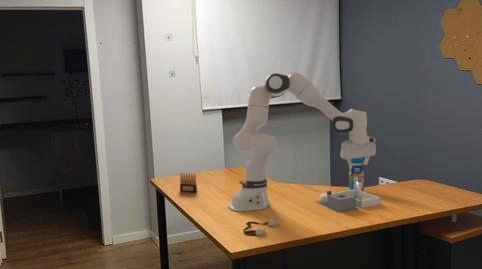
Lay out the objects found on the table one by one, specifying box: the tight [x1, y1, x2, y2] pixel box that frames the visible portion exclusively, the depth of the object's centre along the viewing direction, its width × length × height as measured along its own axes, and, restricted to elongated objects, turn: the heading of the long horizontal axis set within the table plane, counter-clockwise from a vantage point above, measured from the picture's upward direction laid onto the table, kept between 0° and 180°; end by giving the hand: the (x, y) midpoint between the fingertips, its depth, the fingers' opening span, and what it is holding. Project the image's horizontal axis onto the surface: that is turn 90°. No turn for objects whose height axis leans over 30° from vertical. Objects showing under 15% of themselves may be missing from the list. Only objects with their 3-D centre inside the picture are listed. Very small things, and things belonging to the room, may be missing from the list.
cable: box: [242, 218, 280, 237], centre depth 214 cm, size 16×16×4 cm
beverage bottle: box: [348, 157, 365, 192], centre depth 270 cm, size 8×8×20 cm
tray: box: [336, 189, 382, 209], centre depth 246 cm, size 13×20×5 cm, turn 24°
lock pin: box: [356, 179, 363, 201], centre depth 245 cm, size 2×2×12 cm
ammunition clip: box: [179, 172, 198, 194], centre depth 282 cm, size 11×2×12 cm, turn 71°
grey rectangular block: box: [315, 190, 359, 214], centre depth 240 cm, size 12×22×8 cm, turn 24°
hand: (358, 165), depth 243 cm, fingers open, 8 cm apart
